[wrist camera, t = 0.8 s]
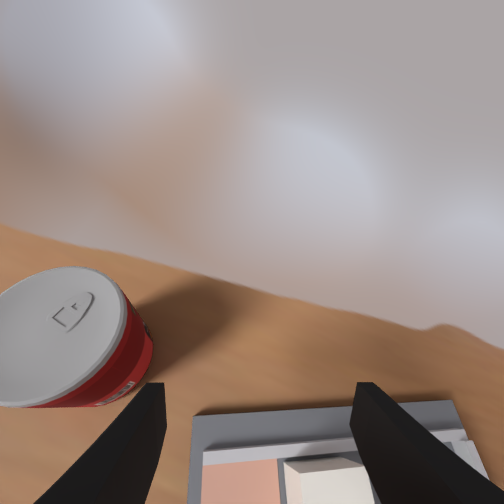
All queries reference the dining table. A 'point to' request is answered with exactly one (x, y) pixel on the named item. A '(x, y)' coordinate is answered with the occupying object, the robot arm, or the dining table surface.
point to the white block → (327, 482)
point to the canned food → (69, 341)
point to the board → (292, 448)
